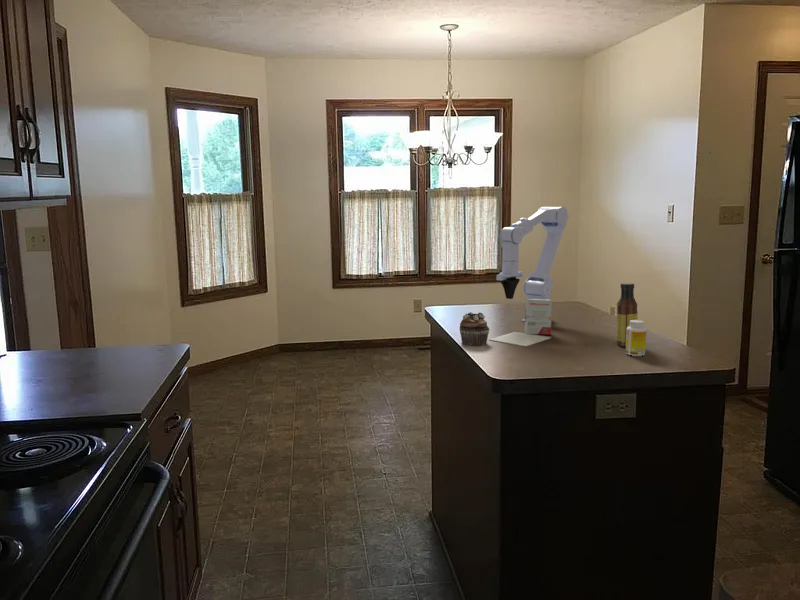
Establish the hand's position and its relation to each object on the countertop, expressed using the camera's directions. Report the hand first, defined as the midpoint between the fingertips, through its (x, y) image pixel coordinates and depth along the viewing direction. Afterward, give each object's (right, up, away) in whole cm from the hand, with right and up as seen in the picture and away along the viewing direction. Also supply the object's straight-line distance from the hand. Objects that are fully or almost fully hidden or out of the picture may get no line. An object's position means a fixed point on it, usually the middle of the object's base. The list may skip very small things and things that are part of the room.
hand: (509, 298), depth 233 cm
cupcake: (-16, -15, -24) cm, 32 cm away
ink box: (+8, -12, -11) cm, 18 cm away
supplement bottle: (+31, -17, -40) cm, 53 cm away
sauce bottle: (+32, -15, -28) cm, 45 cm away
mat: (0, -14, -19) cm, 23 cm away
